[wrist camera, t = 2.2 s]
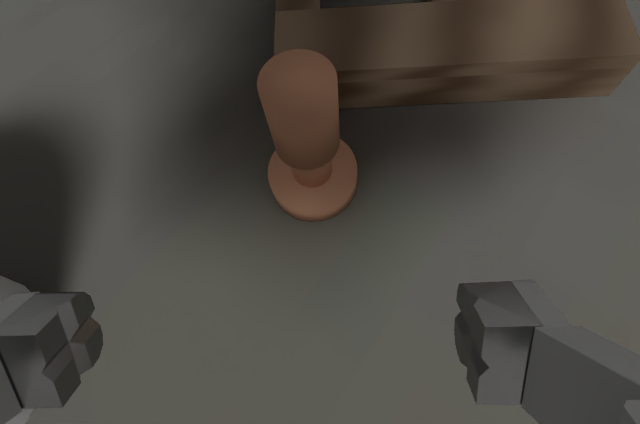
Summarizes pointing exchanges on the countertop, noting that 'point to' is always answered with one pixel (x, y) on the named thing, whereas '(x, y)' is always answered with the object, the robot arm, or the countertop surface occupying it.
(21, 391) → the robot arm
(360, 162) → the countertop surface
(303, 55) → the peg
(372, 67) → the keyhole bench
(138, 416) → the countertop surface
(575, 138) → the countertop surface
